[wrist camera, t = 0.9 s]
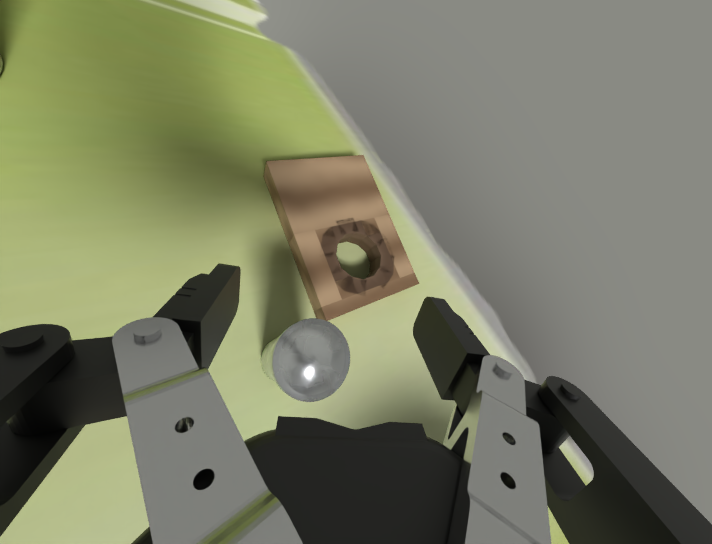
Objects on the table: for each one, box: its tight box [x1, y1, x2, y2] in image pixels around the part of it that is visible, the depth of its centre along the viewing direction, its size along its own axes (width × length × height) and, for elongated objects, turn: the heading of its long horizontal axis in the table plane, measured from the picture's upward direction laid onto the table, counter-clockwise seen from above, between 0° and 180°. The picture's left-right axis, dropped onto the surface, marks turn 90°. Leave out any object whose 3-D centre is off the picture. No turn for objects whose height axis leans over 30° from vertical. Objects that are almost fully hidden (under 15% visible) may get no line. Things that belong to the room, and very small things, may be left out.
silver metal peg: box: [261, 318, 350, 402], centre depth 23 cm, size 5×5×12 cm
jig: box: [264, 155, 419, 321], centre depth 34 cm, size 20×14×3 cm
